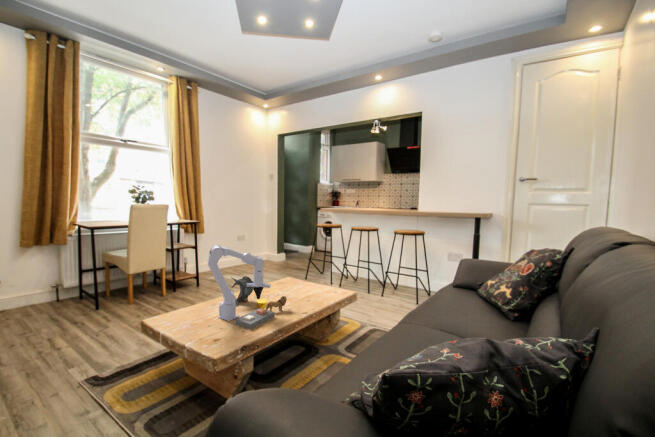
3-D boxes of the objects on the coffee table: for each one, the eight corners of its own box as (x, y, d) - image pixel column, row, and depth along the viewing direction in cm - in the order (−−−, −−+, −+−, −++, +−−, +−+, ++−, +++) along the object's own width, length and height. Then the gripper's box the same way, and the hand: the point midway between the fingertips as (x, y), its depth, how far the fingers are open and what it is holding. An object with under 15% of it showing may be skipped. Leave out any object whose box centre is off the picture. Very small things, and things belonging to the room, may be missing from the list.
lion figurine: (284, 307, 198) (284, 294, 197) (288, 310, 193) (288, 296, 192) (263, 312, 190) (263, 298, 189) (266, 315, 185) (266, 300, 185)
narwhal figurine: (255, 304, 202) (255, 278, 200) (231, 307, 196) (231, 280, 195) (252, 297, 215) (252, 273, 213) (229, 300, 209) (229, 274, 208)
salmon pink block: (256, 316, 180) (256, 310, 180) (261, 314, 184) (261, 308, 183) (261, 318, 178) (261, 311, 178) (266, 316, 182) (266, 309, 181)
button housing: (235, 324, 171) (234, 319, 171) (259, 312, 188) (259, 308, 188) (250, 329, 165) (250, 324, 165) (274, 317, 182) (274, 312, 182)
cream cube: (244, 324, 172) (244, 317, 171) (249, 321, 175) (249, 314, 175) (249, 325, 170) (249, 318, 169) (254, 323, 173) (254, 316, 173)
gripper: (244, 278, 182) (244, 300, 184) (268, 279, 181) (268, 301, 182) (248, 275, 189) (248, 296, 191) (271, 276, 188) (271, 297, 189)
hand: (258, 298), depth 187 cm, fingers closed
